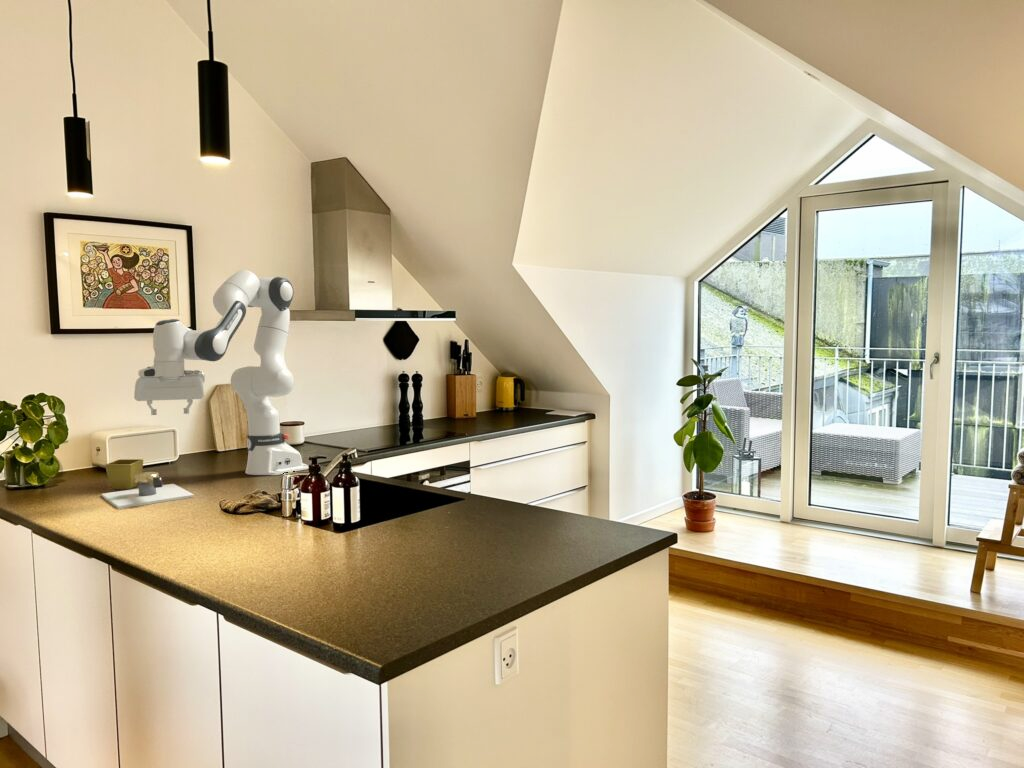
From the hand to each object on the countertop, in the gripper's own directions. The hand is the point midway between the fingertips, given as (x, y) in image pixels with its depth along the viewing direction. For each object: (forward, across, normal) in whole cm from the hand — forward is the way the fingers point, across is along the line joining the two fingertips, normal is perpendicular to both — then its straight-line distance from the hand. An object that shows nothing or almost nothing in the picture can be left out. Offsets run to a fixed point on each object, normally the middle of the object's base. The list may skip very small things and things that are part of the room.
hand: (170, 414), depth 240 cm
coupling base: (+27, +7, -4) cm, 28 cm away
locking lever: (+21, +6, +1) cm, 22 cm away
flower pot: (+27, +12, -23) cm, 37 cm away
